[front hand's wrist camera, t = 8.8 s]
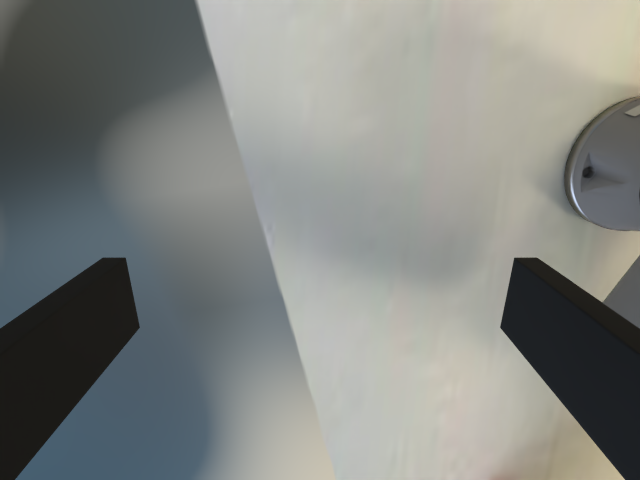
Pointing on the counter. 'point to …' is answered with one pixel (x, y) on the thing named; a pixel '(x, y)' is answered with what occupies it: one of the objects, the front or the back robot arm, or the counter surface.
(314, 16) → the counter surface
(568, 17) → the counter surface
